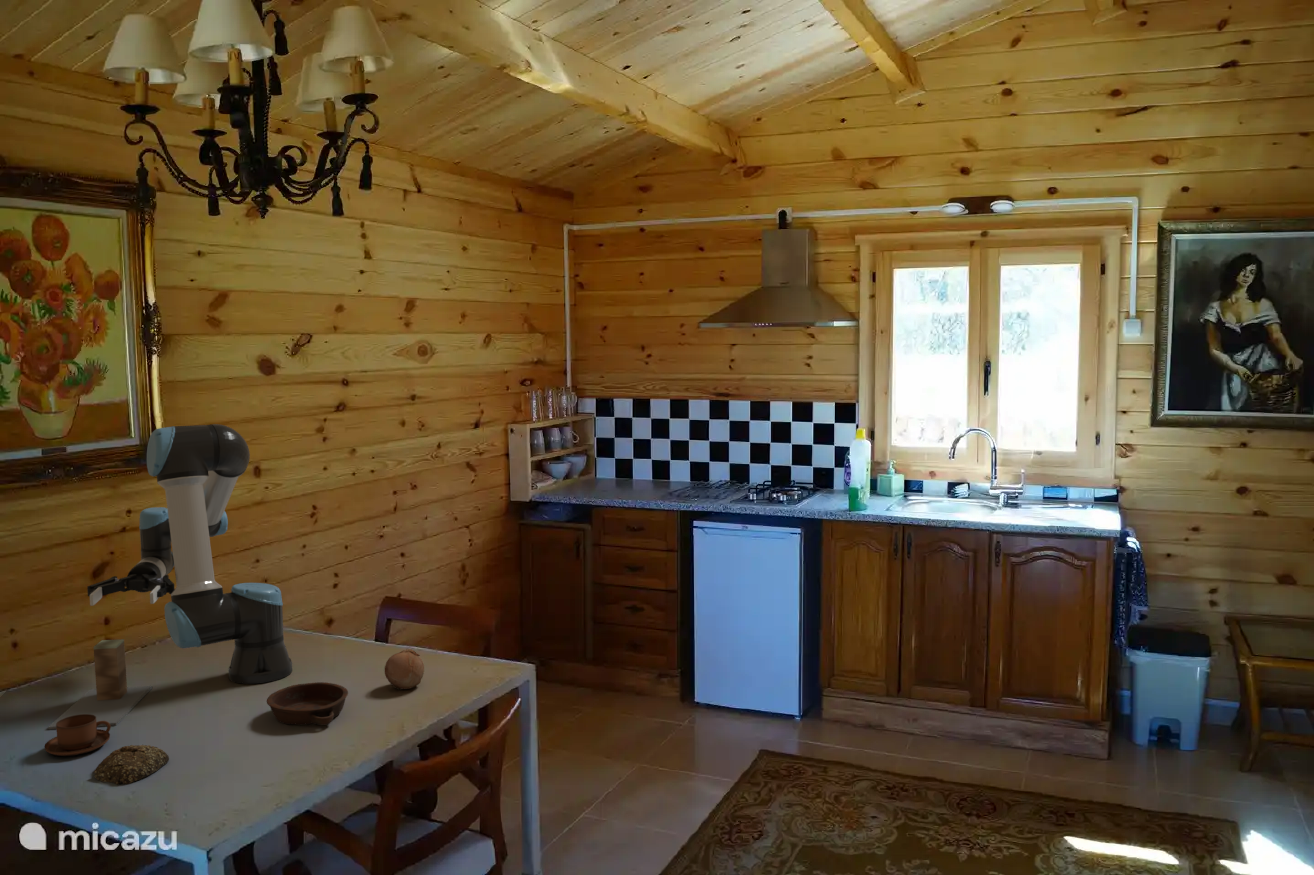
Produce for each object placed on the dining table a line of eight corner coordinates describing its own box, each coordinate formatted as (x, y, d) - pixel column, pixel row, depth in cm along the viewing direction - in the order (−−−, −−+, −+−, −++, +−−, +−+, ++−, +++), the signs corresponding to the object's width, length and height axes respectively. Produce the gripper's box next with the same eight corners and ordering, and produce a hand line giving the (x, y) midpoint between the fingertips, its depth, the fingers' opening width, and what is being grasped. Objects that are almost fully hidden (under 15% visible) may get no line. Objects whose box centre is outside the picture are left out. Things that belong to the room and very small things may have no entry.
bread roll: (178, 761, 208) (177, 738, 208) (132, 788, 196) (130, 763, 196) (126, 755, 212) (125, 732, 211) (78, 780, 200) (76, 756, 199)
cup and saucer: (100, 732, 223) (98, 705, 222) (118, 748, 215) (116, 720, 214) (38, 749, 215) (36, 720, 214) (54, 766, 206) (52, 736, 206)
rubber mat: (152, 688, 250) (151, 685, 250) (116, 725, 227) (116, 722, 227) (90, 691, 248) (90, 689, 248) (48, 729, 225) (48, 726, 225)
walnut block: (127, 691, 246) (124, 639, 245) (119, 699, 241) (116, 645, 240) (105, 692, 245) (101, 640, 244) (97, 700, 240) (93, 646, 239)
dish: (285, 740, 219) (284, 718, 218) (254, 710, 236) (253, 689, 235) (364, 721, 229) (363, 699, 229) (328, 693, 246) (327, 673, 246)
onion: (411, 693, 254) (421, 653, 257) (424, 694, 246) (434, 652, 250) (375, 685, 250) (385, 645, 253) (386, 686, 242) (397, 644, 245)
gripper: (197, 587, 274) (177, 612, 253) (96, 590, 269) (66, 615, 248) (196, 560, 273) (175, 583, 252) (94, 562, 268) (65, 586, 247)
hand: (121, 599), depth 250 cm, fingers open, 13 cm apart
